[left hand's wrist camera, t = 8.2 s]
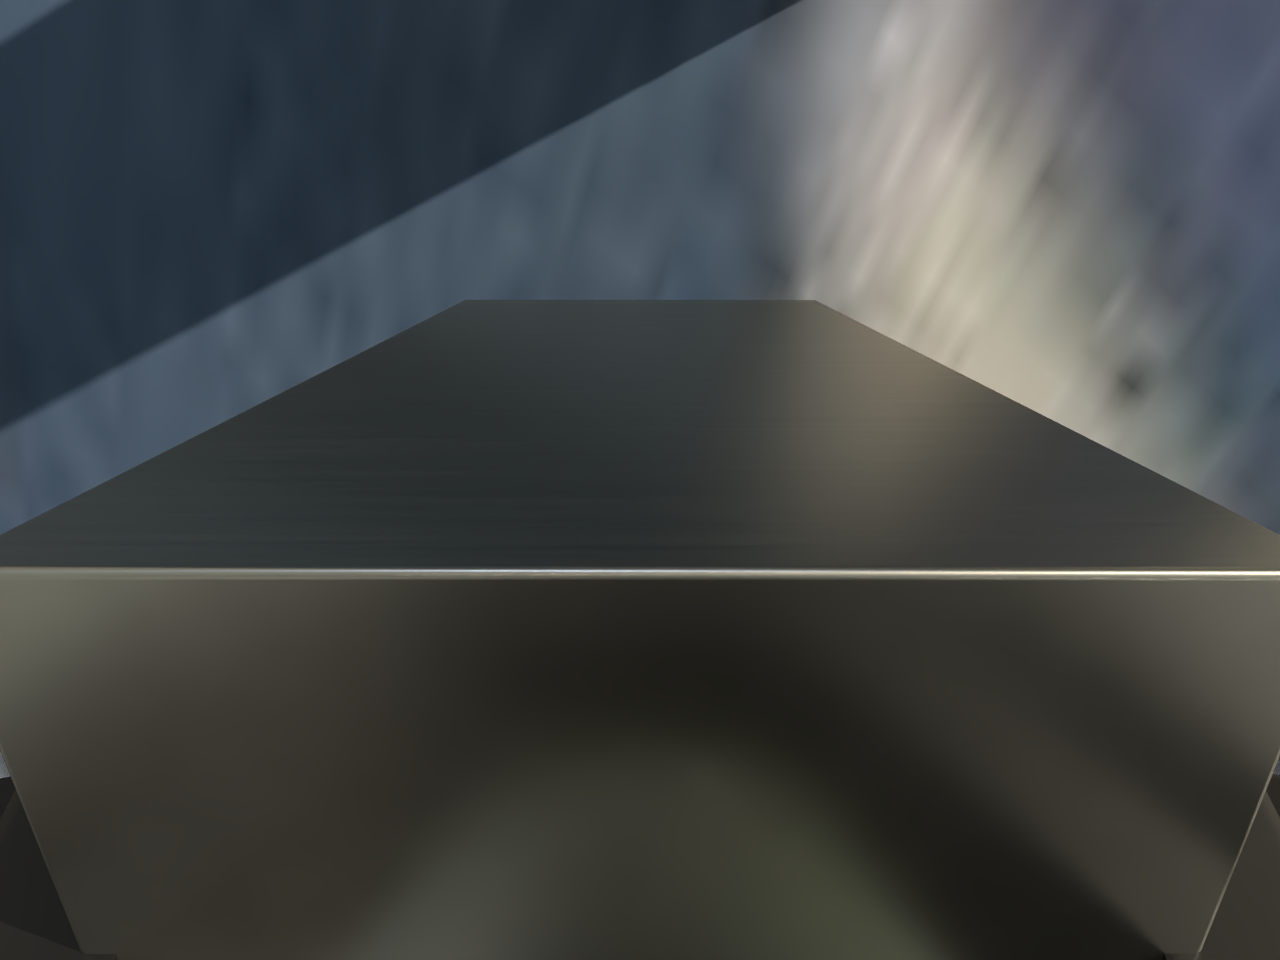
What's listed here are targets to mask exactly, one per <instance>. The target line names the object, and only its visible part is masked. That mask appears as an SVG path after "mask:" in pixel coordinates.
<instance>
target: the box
mask: <svg viewBox="0 0 1280 960" xmlns="http://www.w3.org/2000/svg"><path fill="white" fill-rule="evenodd" d="M0 751H1V753H2V756H3V758H4V761H5V763H6V766H7V768H8V770H9V773H10V775H11V778H12V780H13V783H14V785H15V788H16V790H17V793H18V795H19V798H20V800H21V803H22V805H23V808H24V810H25V813H26V815H27V818H28V820H29V823H30V825H31V828H32V830H33V833H34V835H35V838H36V840H37V843H38V845H39V848H40V850H41V853H42V855H43V858H44V860H45V863H46V865H47V868H48V870H49V873H50V875H51V878H52V880H53V883H54V885H55V888H56V890H57V892H58V895H59V897H60V900H61V902H62V905H63V907H64V910H65V912H66V915H67V917H68V920H69V922H70V925H71V927H72V930H73V932H74V935H75V937H76V940H77V942H78V945H79V947H80V950H81V952H83V953H85V954H116V956H117V959H118V960H1162V959H1163V957H1164V954H1165V953H1198V952H1200V951H1201V949H1202V947H1203V944H1204V942H1205V940H1206V937H1207V935H1208V932H1209V930H1210V927H1211V925H1212V922H1213V920H1214V917H1215V915H1216V912H1217V910H1218V908H1219V905H1220V903H1221V900H1222V898H1223V895H1224V893H1225V890H1226V888H1227V885H1228V883H1229V880H1230V878H1231V876H1232V873H1233V871H1234V868H1235V866H1236V863H1237V861H1238V858H1239V856H1240V853H1241V851H1242V848H1243V846H1244V843H1245V841H1246V839H1247V836H1248V834H1249V831H1250V829H1251V826H1252V824H1253V821H1254V819H1255V816H1256V814H1257V811H1258V809H1259V807H1260V804H1261V802H1262V799H1263V797H1264V794H1265V792H1266V789H1267V787H1268V784H1269V782H1270V779H1271V777H1272V775H1273V772H1274V770H1275V767H1276V765H1277V762H1278V760H1279V757H1280V535H1278V534H1276V533H1274V532H1272V531H1270V530H1268V529H1266V528H1265V527H1263V526H1261V525H1259V524H1257V523H1255V522H1253V521H1251V520H1249V519H1247V518H1245V517H1243V516H1241V515H1239V514H1237V513H1235V512H1233V511H1231V510H1229V509H1227V508H1225V507H1223V506H1221V505H1219V504H1217V503H1215V502H1213V501H1211V500H1209V499H1207V498H1205V497H1203V496H1201V495H1199V494H1197V493H1195V492H1193V491H1191V490H1189V489H1187V488H1185V487H1183V486H1181V485H1180V484H1178V483H1176V482H1174V481H1172V480H1170V479H1168V478H1166V477H1164V476H1162V475H1160V474H1158V473H1156V472H1154V471H1152V470H1150V469H1148V468H1146V467H1144V466H1142V465H1140V464H1138V463H1136V462H1134V461H1132V460H1130V459H1128V458H1126V457H1124V456H1122V455H1120V454H1118V453H1116V452H1114V451H1112V450H1110V449H1108V448H1106V447H1104V446H1102V445H1100V444H1098V443H1096V442H1095V441H1093V440H1091V439H1089V438H1087V437H1085V436H1083V435H1081V434H1079V433H1077V432H1075V431H1073V430H1071V429H1069V428H1067V427H1065V426H1063V425H1061V424H1059V423H1057V422H1055V421H1053V420H1051V419H1049V418H1047V417H1045V416H1043V415H1041V414H1039V413H1037V412H1035V411H1033V410H1031V409H1029V408H1027V407H1025V406H1023V405H1021V404H1019V403H1017V402H1015V401H1013V400H1011V399H1009V398H1008V397H1006V396H1004V395H1002V394H1000V393H998V392H996V391H994V390H992V389H990V388H988V387H986V386H984V385H982V384H980V383H978V382H976V381H974V380H972V379H970V378H968V377H966V376H964V375H962V374H960V373H958V372H956V371H954V370H952V369H950V368H948V367H946V366H944V365H942V364H940V363H938V362H936V361H934V360H932V359H930V358H928V357H926V356H924V355H923V354H921V353H919V352H917V351H915V350H913V349H911V348H909V347H907V346H905V345H903V344H901V343H899V342H897V341H895V340H893V339H891V338H889V337H887V336H885V335H883V334H881V333H879V332H877V331H875V330H873V329H871V328H869V327H867V326H865V325H863V324H861V323H859V322H857V321H855V320H853V319H851V318H849V317H847V316H845V315H843V314H841V313H839V312H838V311H836V310H834V309H832V308H830V307H828V306H826V305H824V304H822V303H820V302H818V301H816V300H465V301H463V302H461V303H459V304H457V305H455V306H453V307H451V308H449V309H447V310H445V311H443V312H441V313H439V314H437V315H435V316H433V317H431V318H429V319H427V320H425V321H423V322H421V323H419V324H417V325H415V326H413V327H411V328H409V329H407V330H405V331H403V332H401V333H399V334H397V335H395V336H393V337H391V338H389V339H387V340H385V341H383V342H381V343H379V344H378V345H376V346H374V347H372V348H370V349H368V350H366V351H364V352H362V353H360V354H358V355H356V356H354V357H352V358H350V359H348V360H346V361H344V362H342V363H340V364H338V365H336V366H334V367H332V368H330V369H328V370H326V371H324V372H322V373H320V374H318V375H316V376H314V377H312V378H310V379H308V380H306V381H304V382H302V383H300V384H298V385H296V386H294V387H292V388H290V389H288V390H286V391H284V392H282V393H281V394H279V395H277V396H275V397H273V398H271V399H269V400H267V401H265V402H263V403H261V404H259V405H257V406H255V407H253V408H251V409H249V410H247V411H245V412H243V413H241V414H239V415H237V416H235V417H233V418H231V419H229V420H227V421H225V422H223V423H221V424H219V425H217V426H215V427H213V428H211V429H209V430H207V431H205V432H203V433H201V434H199V435H197V436H195V437H193V438H191V439H189V440H187V441H186V442H184V443H182V444H180V445H178V446H176V447H174V448H172V449H170V450H168V451H166V452H164V453H162V454H160V455H158V456H156V457H154V458H152V459H150V460H148V461H146V462H144V463H142V464H140V465H138V466H136V467H134V468H132V469H130V470H128V471H126V472H124V473H122V474H120V475H118V476H116V477H114V478H112V479H110V480H108V481H106V482H104V483H102V484H100V485H98V486H96V487H94V488H92V489H91V490H89V491H87V492H85V493H83V494H81V495H79V496H77V497H75V498H73V499H71V500H69V501H67V502H65V503H63V504H61V505H59V506H57V507H55V508H53V509H51V510H49V511H47V512H45V513H43V514H41V515H39V516H37V517H35V518H33V519H31V520H29V521H27V522H25V523H23V524H21V525H19V526H17V527H15V528H13V529H11V530H9V531H7V532H5V533H3V534H1V535H0Z"/></svg>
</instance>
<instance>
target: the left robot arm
mask: <svg viewBox="0 0 1280 960" xmlns="http://www.w3.org/2000/svg"><path fill="white" fill-rule="evenodd" d="M0 960H118V959H117V956H116V954H85V953H83V952H81V950H80V947H79V945H78V942H77V940H76V937H75V935H74V932H73V930H72V927H71V925H70V922H69V920H68V917H67V915H66V912H65V910H64V907H63V905H62V902H61V900H60V897H59V895H58V892H57V890H56V888H55V885H54V883H53V880H52V878H51V875H50V873H49V870H48V868H47V865H46V863H45V860H44V858H43V855H42V853H41V850H40V848H39V845H38V843H37V840H36V838H35V835H34V833H33V830H32V828H31V825H30V823H29V820H28V818H27V815H26V813H25V810H24V808H23V805H22V803H21V800H20V798H19V795H18V793H17V790H16V788H15V785H14V783H13V780H12V778H11V777H6V778H1V779H0ZM1162 960H1280V775H1275V774H1273V775H1272V777H1271V779H1270V782H1269V784H1268V787H1267V789H1266V792H1265V794H1264V797H1263V799H1262V802H1261V804H1260V807H1259V809H1258V811H1257V814H1256V816H1255V819H1254V821H1253V824H1252V826H1251V829H1250V831H1249V834H1248V836H1247V839H1246V841H1245V843H1244V846H1243V848H1242V851H1241V853H1240V856H1239V858H1238V861H1237V863H1236V866H1235V868H1234V871H1233V873H1232V876H1231V878H1230V880H1229V883H1228V885H1227V888H1226V890H1225V893H1224V895H1223V898H1222V900H1221V903H1220V905H1219V908H1218V910H1217V912H1216V915H1215V917H1214V920H1213V922H1212V925H1211V927H1210V930H1209V932H1208V935H1207V937H1206V940H1205V942H1204V944H1203V947H1202V949H1201V951H1200V952H1198V953H1165V954H1164V957H1163V959H1162Z"/></svg>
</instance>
